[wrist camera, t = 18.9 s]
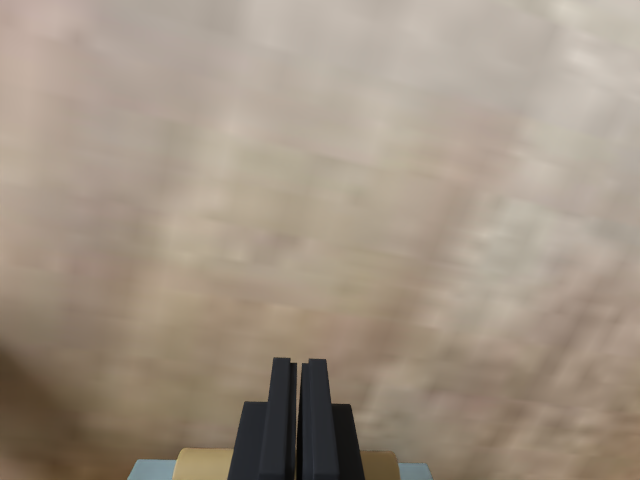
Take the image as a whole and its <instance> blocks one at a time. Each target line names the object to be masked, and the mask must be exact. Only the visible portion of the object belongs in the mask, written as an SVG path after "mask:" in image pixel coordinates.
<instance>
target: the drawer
mask: <svg viewBox="0 0 640 480" xmlns="http://www.w3.org/2000/svg"><path fill="white" fill-rule="evenodd" d="M233 450H234V449H225V448H183V449H182V450H181V452H180V453H179V455H178V458H177V460H152V459H138V460H137V461H136V463H135V465H134V467H133V469H132V471H131V473H130V475H129V477H128V479H127V480H227V477H228V473H229V468H230V464H231V459H232V455H233ZM360 454H361V459H362V465H363V470H364V475H365V480H433V477H432V475H431V473H430V470H429V468H428V465H427V464H426V463H398V461H397V458H396V456H395V454H394V453H393V452H391V451H360ZM296 455H297V450H295V478H294V480H296Z"/></svg>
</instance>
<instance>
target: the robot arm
mask: <svg viewBox="0 0 640 480" xmlns="http://www.w3.org/2000/svg"><path fill="white" fill-rule="evenodd" d="M296 388H297V363H290V358H273V366H272V374H271V381H270V389H269V397H268V402H244V406H243V410H242V414H241V419H240V423H239V428H238V432H237V437H236V441H235V446H234V450H233V455H232V459H231V464H230V468H229V473H228V477H227V480H294V478H295V444H296ZM296 480H365V475H364V470H363V465H362V459H361V454H360V449H359V444H358V439H357V434H356V429H355V423H354V418H353V413H352V408H351V405H350V404H331V397H330V388H329V380H328V371H327V363H326V359H309V363H302V372H301V386H300V400H299V414H298V428H297V455H296Z"/></svg>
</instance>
